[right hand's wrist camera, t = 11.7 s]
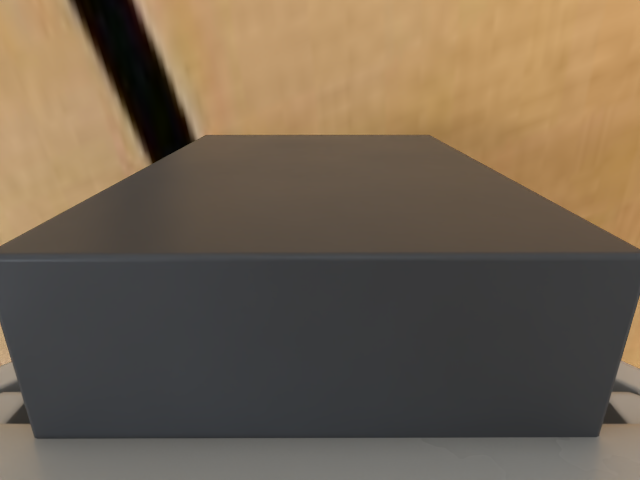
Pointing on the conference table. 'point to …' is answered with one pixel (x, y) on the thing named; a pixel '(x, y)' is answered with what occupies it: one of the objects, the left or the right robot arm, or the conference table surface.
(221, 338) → the box
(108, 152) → the conference table surface
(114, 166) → the conference table surface
